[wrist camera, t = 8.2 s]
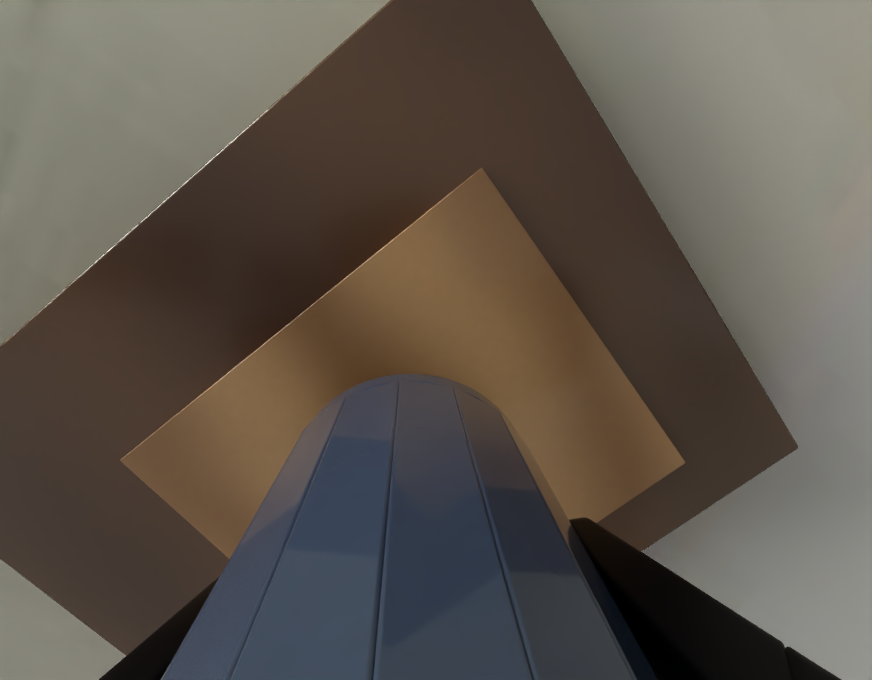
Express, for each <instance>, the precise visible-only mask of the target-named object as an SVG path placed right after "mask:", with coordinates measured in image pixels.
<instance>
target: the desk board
mask: <svg viewBox="0 0 872 680" xmlns="http://www.w3.org/2000/svg"><path fill="white" fill-rule="evenodd" d="M400 374H425V375H431V376H437V377H443V378H446V379H449V380H453V381H456V382H459V383H461V384H463V385H465V386H468V387H470V388H472V389H474V390H475V391H477V392H479V393H480V394H482V395H483V396H485V397H486V398H488V399H489V400H490V401H491V402H492V403H494V404H495V405H496V406H497V407H498V408H499V409H500V410H501V411H502V412H503V413H504V414H505V415H506V416H507V417H508V419H509V420H510V422H511V423H512V425H513V426H514V428H515V429H516V431H517V432H518V434H519V436H520V437H521V439H522V440H523V441H524V442H525V444H526V445H527V446H528V448H529V450H530V452H531V453H532V455H533V457H534V459H535V460H536V462H537V464H538V466H539V468H540V469H541V471H542V473H543V475H544V477H545V478H546V480H547V482H548V484H549V485H550V487H551V489H552V491H553V493H554V494H555V496H556V498H557V500H558V502H559V503H560V505H561V507H562V509H563V510H564V512H565V514H566V516H567V518H568V519H575V518H582V517H586V518H589V519H591V520H592V521H594V522H595V523H597V524H599V525H600V526H602V527H603V528H605V529H606V530H608V531H609V532H611V533H613V534H614V535H616V536H617V537H619V538H620V539H622V540H623V541H625V542H627V543H628V544H630V545H631V546H633V547H634V548H636V549H638V550H639V551H643V550H644V549H646V548H647V547H649V546H650V545H652V544H653V543H655V542H656V541H658V540H659V539H661V538H662V537H664V536H666V535H667V534H669V533H670V532H672V531H673V530H675V529H676V528H678V527H679V526H681V525H682V524H684V523H685V522H687V521H688V520H690V519H691V518H693V517H694V516H696V515H697V514H699V513H700V512H702V511H703V510H705V509H706V508H708V507H709V506H711V505H713V504H714V503H716V502H717V501H719V500H720V499H722V498H723V497H725V496H726V495H728V494H729V493H731V492H732V491H734V490H735V489H737V488H738V487H740V486H741V485H743V484H744V483H746V482H747V481H749V480H750V479H752V478H753V477H755V476H757V475H758V474H760V473H761V472H763V471H764V470H766V469H767V468H769V467H770V466H772V465H773V464H775V463H776V462H778V461H779V460H781V459H782V458H784V457H785V456H787V455H788V454H790V453H791V452H793V451H794V450H796V449H797V448H798V445H797V444H796V442H795V440H794V439H793V437H792V435H791V434H790V432H789V430H788V429H787V427H786V425H785V424H784V422H783V420H782V419H781V417H780V415H779V414H778V412H777V410H776V409H775V407H774V405H773V404H772V402H771V400H770V399H769V397H768V395H767V394H766V392H765V390H764V389H763V387H762V385H761V384H760V382H759V380H758V379H757V377H756V375H755V374H754V372H753V370H752V368H751V367H750V365H749V363H748V362H747V360H746V358H745V357H744V355H743V353H742V352H741V350H740V348H739V347H738V345H737V343H736V342H735V340H734V338H733V337H732V335H731V333H730V332H729V330H728V328H727V327H726V325H725V323H724V322H723V320H722V318H721V317H720V315H719V313H718V312H717V310H716V308H715V307H714V305H713V303H712V302H711V300H710V298H709V297H708V295H707V293H706V292H705V290H704V288H703V287H702V285H701V283H700V282H699V280H698V278H697V277H696V275H695V273H694V271H693V270H692V268H691V266H690V265H689V263H688V261H687V260H686V258H685V256H684V255H683V253H682V251H681V250H680V248H679V246H678V245H677V243H676V241H675V240H674V238H673V236H672V235H671V233H670V231H669V230H668V228H667V226H666V225H665V223H664V221H663V220H662V218H661V216H660V215H659V213H658V211H657V210H656V208H655V206H654V205H653V203H652V201H651V200H650V198H649V196H648V195H647V193H646V191H645V190H644V188H643V186H642V185H641V183H640V181H639V180H638V178H637V176H636V174H635V173H634V171H633V169H632V168H631V166H630V164H629V163H628V161H627V159H626V158H625V156H624V154H623V153H622V151H621V149H620V148H619V146H618V144H617V143H616V141H615V139H614V138H613V136H612V134H611V133H610V131H609V129H608V128H607V126H606V124H605V123H604V121H603V119H602V118H601V116H600V114H599V113H598V111H597V109H596V108H595V106H594V104H593V103H592V101H591V99H590V98H589V96H588V94H587V93H586V91H585V89H584V88H583V86H582V84H581V82H580V81H579V79H578V77H577V76H576V74H575V72H574V71H573V69H572V67H571V66H570V64H569V62H568V61H567V59H566V57H565V56H564V54H563V52H562V51H561V49H560V47H559V46H558V44H557V42H556V41H555V39H554V37H553V36H552V34H551V32H550V31H549V29H548V27H547V26H546V24H545V22H544V21H543V19H542V17H541V16H540V14H539V12H538V11H537V9H536V7H535V6H534V4H533V2H532V1H531V0H390V1H389V2H388V3H387V4H386V5H385V6H384V7H383V8H381V9H380V10H379V11H378V12H377V13H376V14H375V15H374V16H372V17H371V18H370V19H369V20H368V21H367V22H366V23H364V24H363V25H362V26H361V27H360V28H359V29H358V30H357V31H355V32H354V33H353V34H352V35H351V36H350V37H349V38H348V39H346V40H345V41H344V42H343V43H342V44H341V45H340V46H338V47H337V48H336V49H335V50H334V51H333V52H332V53H331V54H329V55H328V56H327V57H326V58H325V59H324V60H323V61H322V62H320V63H319V64H318V65H317V66H316V67H315V68H314V69H312V70H311V71H310V72H309V73H308V74H307V75H306V76H305V77H303V78H302V79H301V80H300V81H299V82H298V83H297V84H296V85H294V86H293V87H292V88H291V89H290V90H289V91H288V92H286V93H285V94H284V95H283V96H282V97H281V98H280V99H279V100H277V101H276V102H275V103H274V104H273V105H272V106H271V107H269V108H268V109H267V110H266V111H265V112H264V113H263V114H262V115H260V116H259V117H258V118H257V119H256V120H255V121H254V122H253V123H251V124H250V125H249V126H248V127H247V128H246V129H245V130H243V131H242V132H241V133H240V134H239V135H238V136H237V137H236V138H234V139H233V140H232V141H231V142H230V143H229V144H228V145H227V146H225V147H224V148H223V149H222V150H221V151H220V152H219V153H217V154H216V155H215V156H214V157H213V158H212V159H211V160H210V161H208V162H207V163H206V164H205V165H204V166H203V167H202V168H201V169H199V170H198V171H197V172H196V173H195V174H194V175H193V176H191V177H190V178H189V179H188V180H187V181H186V182H185V183H184V184H182V185H181V186H180V187H179V188H178V189H177V190H176V191H175V192H173V193H172V194H171V195H170V196H169V197H168V198H167V199H165V200H164V201H163V202H162V203H161V204H160V205H159V206H158V207H156V208H155V209H154V210H153V211H152V212H151V213H150V214H149V215H147V216H146V217H145V218H144V219H143V220H142V221H141V222H139V223H138V224H137V225H136V226H135V227H134V228H133V229H132V230H130V231H129V232H128V233H127V234H126V235H125V236H124V237H123V238H121V239H120V240H119V241H118V242H117V243H116V244H115V245H113V246H112V247H111V248H110V249H109V250H108V251H107V252H106V253H104V254H103V255H102V256H101V257H100V258H99V259H98V260H97V261H95V262H94V263H93V264H92V265H91V266H90V267H89V268H87V269H86V270H85V271H84V272H83V273H82V274H81V275H80V276H78V277H77V278H76V279H75V280H74V281H73V282H72V283H70V284H69V285H68V286H67V287H66V288H65V289H64V290H63V291H61V292H60V293H59V294H58V295H57V296H56V297H55V298H54V299H52V300H51V301H50V302H49V303H48V304H47V305H46V306H44V307H43V308H42V309H41V310H40V311H39V312H38V313H37V314H35V315H34V316H33V317H32V318H31V319H30V320H29V321H28V322H26V323H25V324H24V325H23V326H22V327H21V328H20V329H18V330H17V331H16V332H15V333H14V334H13V335H12V336H11V337H9V338H8V339H7V340H6V341H5V342H4V343H3V344H2V345H0V559H1V560H2V561H4V562H5V563H6V564H8V565H9V566H10V567H12V568H13V569H14V570H15V571H17V572H18V573H19V574H21V575H22V576H23V577H25V578H26V579H27V580H28V581H30V582H31V583H32V584H34V585H35V586H36V587H38V588H39V589H40V590H41V591H43V592H44V593H45V594H47V595H48V596H49V597H51V598H52V599H53V600H54V601H56V602H57V603H58V604H60V605H61V606H62V607H64V608H65V609H66V610H67V611H69V612H70V613H71V614H73V615H74V616H75V617H77V618H78V619H79V620H80V621H82V622H83V623H84V624H86V625H87V626H88V627H90V628H91V629H92V630H93V631H95V632H96V633H97V634H99V635H100V636H101V637H103V638H104V639H105V640H106V641H108V642H109V643H110V644H112V645H113V646H114V647H116V648H117V649H118V650H119V651H121V652H122V653H123V654H125V655H126V656H127V655H128V654H129V653H130V652H132V651H133V650H134V649H135V648H136V647H137V646H139V645H140V644H141V643H142V642H143V641H144V640H146V639H147V638H148V637H149V636H150V635H151V634H153V633H154V632H155V631H156V630H157V629H158V628H160V627H161V626H162V625H163V624H164V623H165V622H167V621H168V620H169V619H170V618H171V617H172V616H174V615H175V614H176V613H177V612H178V611H179V610H181V609H182V608H183V607H184V606H185V605H186V604H188V603H189V602H190V601H191V600H192V599H193V598H195V597H196V596H197V595H198V594H199V593H200V592H202V591H203V590H204V589H205V588H206V587H207V586H209V585H210V584H211V583H212V582H213V581H214V580H216V579H217V578H218V577H219V576H220V575H221V573H222V572H223V570H224V568H225V566H226V565H227V563H228V561H229V559H230V558H231V556H232V554H233V552H234V551H235V549H236V547H237V545H238V544H239V542H240V540H241V538H242V537H243V535H244V533H245V531H246V530H247V528H248V526H249V524H250V523H251V521H252V519H253V517H254V516H255V514H256V512H257V510H258V509H259V507H260V505H261V503H262V501H263V500H264V498H265V496H266V494H267V493H268V491H269V489H270V487H271V486H272V484H273V482H274V480H275V479H276V477H277V475H278V473H279V472H280V470H281V468H282V466H283V465H284V463H285V461H286V459H287V458H288V456H289V454H290V452H291V451H292V449H293V447H294V445H295V444H296V442H297V440H298V438H299V437H300V435H301V433H302V431H303V430H304V429H305V428H306V426H307V425H308V423H309V422H310V421H311V420H312V419H313V418H314V416H315V415H316V414H317V413H318V412H319V411H320V410H321V409H322V408H323V407H324V406H325V405H327V404H328V403H329V402H330V401H331V400H333V399H334V398H336V397H337V396H339V395H340V394H342V393H343V392H345V391H347V390H349V389H351V388H353V387H355V386H357V385H359V384H361V383H364V382H367V381H370V380H373V379H376V378H381V377H386V376H390V375H400Z"/></svg>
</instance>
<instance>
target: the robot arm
mask: <svg viewBox="0 0 872 680" xmlns="http://www.w3.org/2000/svg"><path fill="white" fill-rule="evenodd" d="M569 521H570V523H571V525H572V527H573V528H574V530H575V532H576V534H577V535H578V537H579V539H580V541H581V543H582V544H583V546H584V548H585V550H586V552H587V553H588V555H589V557H590V559H591V560H592V562H593V564H594V566H595V568H596V569H597V571H598V573H599V575H600V577H601V578H602V580H603V582H604V584H605V586H606V587H607V589H608V591H609V593H610V594H611V596H612V598H613V600H614V602H615V603H616V605H617V607H618V609H619V611H620V612H621V614H622V616H623V618H624V619H625V621H626V623H627V625H628V627H629V628H630V630H631V632H632V634H633V636H634V637H635V639H636V641H637V643H638V644H639V646H640V648H641V650H642V652H643V653H644V655H645V657H646V659H647V661H648V662H649V664H650V666H651V668H652V669H653V671H654V673H655V675H656V677H657V678H658V680H841V679H840V678H838V677H836V676H835V675H833V674H831V673H830V672H828V671H827V670H825V669H823V668H822V667H820V666H819V665H817V664H816V663H814V662H812V661H811V660H809V659H808V658H806V657H805V656H803V655H801V654H800V653H798V652H797V651H795V650H794V649H792V648H790V647H786V648H785V647H784V644H783V643H782V642H781V641H779V640H778V639H776V638H775V637H773V636H772V635H770V634H768V633H767V632H765V631H764V630H762V629H761V628H759V627H758V626H756V625H754V624H753V623H751V622H750V621H748V620H747V619H745V618H743V617H742V616H740V615H739V614H737V613H736V612H734V611H733V610H731V609H729V608H728V607H726V606H725V605H723V604H722V603H720V602H719V601H717V600H715V599H714V598H712V597H711V596H709V595H708V594H706V593H705V592H703V591H701V590H700V589H698V588H697V587H695V586H694V585H692V584H690V583H689V582H687V581H686V580H684V579H683V578H681V577H680V576H678V575H676V574H675V573H673V572H672V571H670V570H669V569H667V568H666V567H664V566H662V565H661V564H659V563H658V562H656V561H655V560H653V559H652V558H650V557H648V556H647V555H645V554H644V553H642V552H641V551H639V550H638V549H636V548H634V547H633V546H631V545H630V544H628V543H627V542H625V541H623V540H622V539H620V538H619V537H617V536H616V535H614V534H613V533H611V532H609V531H608V530H606V529H605V528H603V527H602V526H600V525H599V524H597V523H595V522H594V521H592V520H591V519H589V518H586V517H582V518H575V519H569ZM219 577H220V576H219ZM219 577H218V578H217V579H216V580H214V581H213V582H212V583H211V584H210V585H209V586H207V587H206V588H205V589H204V590H203V591H202V592H200V593H199V594H198V595H197V596H196V597H195V598H193V599H192V600H191V601H190V602H189V603H188V604H186V605H185V606H184V607H183V608H182V609H181V610H179V611H178V612H177V613H176V614H175V615H174V616H172V617H171V618H170V619H169V620H168V621H167V622H165V623H164V624H163V625H162V626H161V627H160V628H158V629H157V630H156V631H155V632H154V633H153V634H151V635H150V636H149V637H148V638H147V639H146V640H144V641H143V642H142V643H141V644H140V645H139V646H137V647H136V648H135V649H134V650H133V651H132V652H130V653H129V654H128V655H127V656H126V657H125V658H123V659H122V660H121V661H120V662H119V663H118V664H116V665H115V666H114V667H113V668H112V669H111V670H109V671H108V672H107V673H106V674H105V675H104V676H102V677H101V678H100V679H99V680H161V679H162V677H163V675H164V673H165V672H166V670H167V668H168V666H169V665H170V663H171V661H172V659H173V658H174V656H175V654H176V652H177V651H178V649H179V647H180V645H181V644H182V642H183V640H184V638H185V637H186V635H187V633H188V631H189V630H190V628H191V626H192V624H193V622H194V621H195V619H196V617H197V615H198V614H199V612H200V610H201V608H202V607H203V605H204V603H205V601H206V600H207V598H208V596H209V594H210V593H211V591H212V589H213V587H214V586H215V584H216V582H217V580H218V579H219Z"/></svg>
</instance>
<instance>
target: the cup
mask: <svg viewBox="0 0 872 680" xmlns="http://www.w3.org/2000/svg"><path fill="white" fill-rule="evenodd" d="M161 680H658V678H657V677H656V675H655V673H654V671H653V669H652V668H651V666H650V664H649V662H648V661H647V659H646V657H645V655H644V653H643V652H642V650H641V648H640V646H639V644H638V643H637V641H636V639H635V637H634V636H633V634H632V632H631V630H630V628H629V627H628V625H627V623H626V621H625V619H624V618H623V616H622V614H621V612H620V611H619V609H618V607H617V605H616V603H615V602H614V600H613V598H612V596H611V594H610V593H609V591H608V589H607V587H606V586H605V584H604V582H603V580H602V578H601V577H600V575H599V573H598V571H597V569H596V568H595V566H594V564H593V562H592V560H591V559H590V557H589V555H588V553H587V552H586V550H585V548H584V546H583V544H582V543H581V541H580V539H579V537H578V535H577V534H576V532H575V530H574V528H573V527H572V525H571V523H570V521H569V519H568V518H567V516H566V514H565V512H564V510H563V509H562V507H561V505H560V503H559V502H558V500H557V498H556V496H555V494H554V493H553V491H552V489H551V487H550V485H549V484H548V482H547V480H546V478H545V477H544V475H543V473H542V471H541V469H540V468H539V466H538V464H537V462H536V460H535V459H534V457H533V455H532V453H531V452H530V450H529V448H528V446H527V445H526V444H525V442H524V441H523V440H522V439H521V437H520V436H519V434H518V432H517V431H516V429H515V428H514V426H513V425H512V423H511V422H510V420H509V419H508V417H507V416H506V415H505V414H504V413H503V412H502V411H501V410H500V409H499V408H498V407H497V406H496V405H495V404H494V403H492V402H491V401H490V400H489V399H488V398H486V397H485V396H483V395H482V394H480V393H479V392H477V391H475V390H474V389H472V388H470V387H468V386H465V385H463V384H461V383H459V382H456V381H453V380H449V379H446V378H443V377H437V376H431V375H425V374H400V375H390V376H386V377H381V378H376V379H373V380H370V381H367V382H364V383H361V384H359V385H357V386H355V387H353V388H351V389H349V390H347V391H345V392H343V393H342V394H340V395H339V396H337V397H336V398H334V399H333V400H331V401H330V402H329V403H328V404H327V405H325V406H324V407H323V408H322V409H321V410H320V411H319V412H318V413H317V414H316V415H315V416H314V418H313V419H312V420H311V421H310V422H309V423H308V425H307V426H306V428H305V429H304V430H303V431H302V433H301V435H300V437H299V438H298V440H297V442H296V444H295V445H294V447H293V449H292V451H291V452H290V454H289V456H288V458H287V459H286V461H285V463H284V465H283V466H282V468H281V470H280V472H279V473H278V475H277V477H276V479H275V480H274V482H273V484H272V486H271V487H270V489H269V491H268V493H267V494H266V496H265V498H264V500H263V501H262V503H261V505H260V507H259V509H258V510H257V512H256V514H255V516H254V517H253V519H252V521H251V523H250V524H249V526H248V528H247V530H246V531H245V533H244V535H243V537H242V538H241V540H240V542H239V544H238V545H237V547H236V549H235V551H234V552H233V554H232V556H231V558H230V559H229V561H228V563H227V565H226V566H225V568H224V570H223V572H222V573H221V575H220V577H219V579H218V580H217V582H216V584H215V586H214V587H213V589H212V591H211V593H210V594H209V596H208V598H207V600H206V601H205V603H204V605H203V607H202V608H201V610H200V612H199V614H198V615H197V617H196V619H195V621H194V622H193V624H192V626H191V628H190V630H189V631H188V633H187V635H186V637H185V638H184V640H183V642H182V644H181V645H180V647H179V649H178V651H177V652H176V654H175V656H174V658H173V659H172V661H171V663H170V665H169V666H168V668H167V670H166V672H165V673H164V675H163V677H162V679H161Z"/></svg>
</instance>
